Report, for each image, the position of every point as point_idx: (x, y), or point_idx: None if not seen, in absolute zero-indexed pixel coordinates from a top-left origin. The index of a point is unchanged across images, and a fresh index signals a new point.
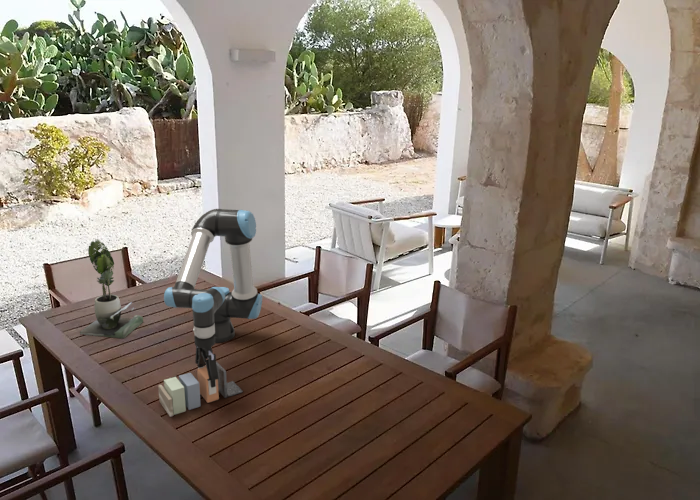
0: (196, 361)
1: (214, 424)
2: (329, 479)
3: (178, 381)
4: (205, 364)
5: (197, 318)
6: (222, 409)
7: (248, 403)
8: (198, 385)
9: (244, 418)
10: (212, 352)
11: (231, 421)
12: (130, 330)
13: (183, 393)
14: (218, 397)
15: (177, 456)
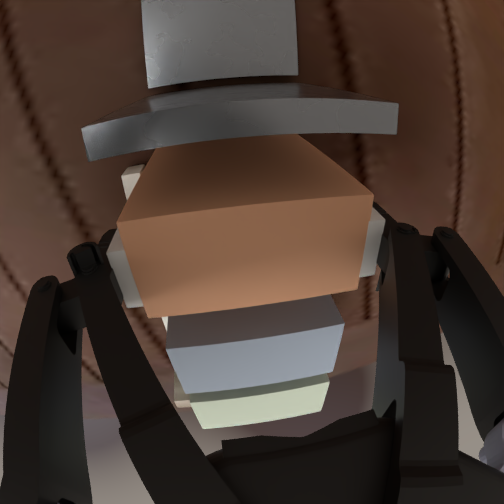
0: (77, 343)
1: (433, 216)
2: None
3: (253, 398)
4: (84, 245)
5: None
6: (378, 149)
7: (399, 27)
8: (336, 314)
9: (469, 109)
10: (458, 476)
11: (457, 158)
12: None
13: None
14: (300, 137)
15: None
